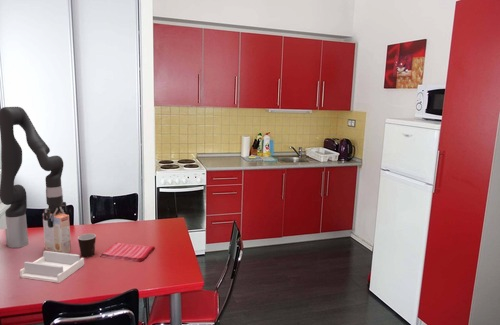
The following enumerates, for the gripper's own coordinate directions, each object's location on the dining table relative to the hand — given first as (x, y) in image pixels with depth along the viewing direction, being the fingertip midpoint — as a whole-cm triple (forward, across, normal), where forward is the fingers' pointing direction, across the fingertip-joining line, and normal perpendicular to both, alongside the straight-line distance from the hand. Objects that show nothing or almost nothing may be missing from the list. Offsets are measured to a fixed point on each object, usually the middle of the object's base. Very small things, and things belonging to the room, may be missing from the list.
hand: (56, 224), depth 193 cm
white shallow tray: (+15, +19, +12) cm, 27 cm away
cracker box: (+15, 0, 0) cm, 15 cm away
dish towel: (+16, -8, +36) cm, 40 cm away
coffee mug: (+15, -2, +17) cm, 23 cm away
